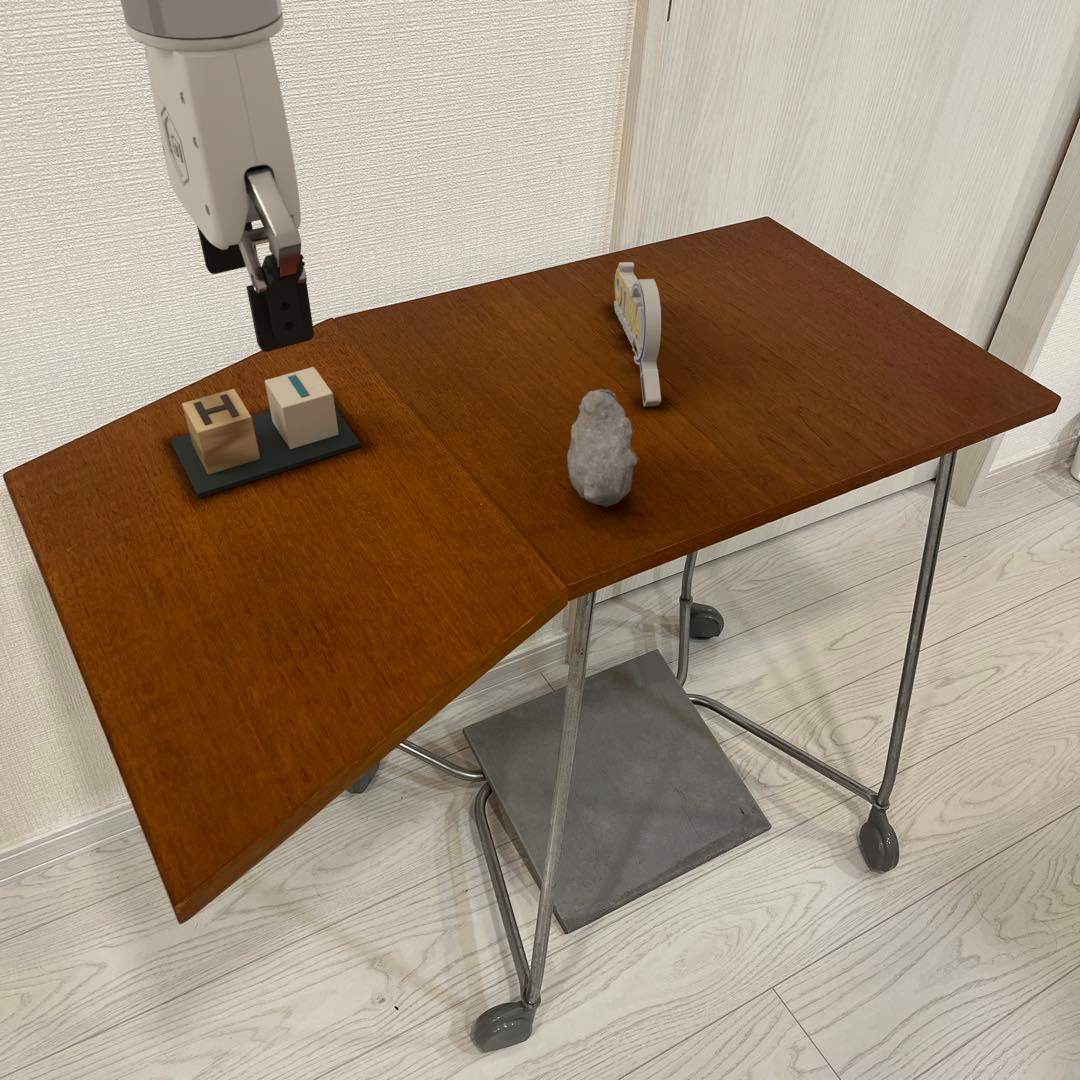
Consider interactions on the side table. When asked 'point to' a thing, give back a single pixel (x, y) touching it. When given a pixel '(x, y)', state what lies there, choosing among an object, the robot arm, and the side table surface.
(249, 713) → the side table surface
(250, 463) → the word mat
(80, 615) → the side table surface
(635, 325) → the decorative sign
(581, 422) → the stone
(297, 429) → the letter i
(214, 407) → the letter h
